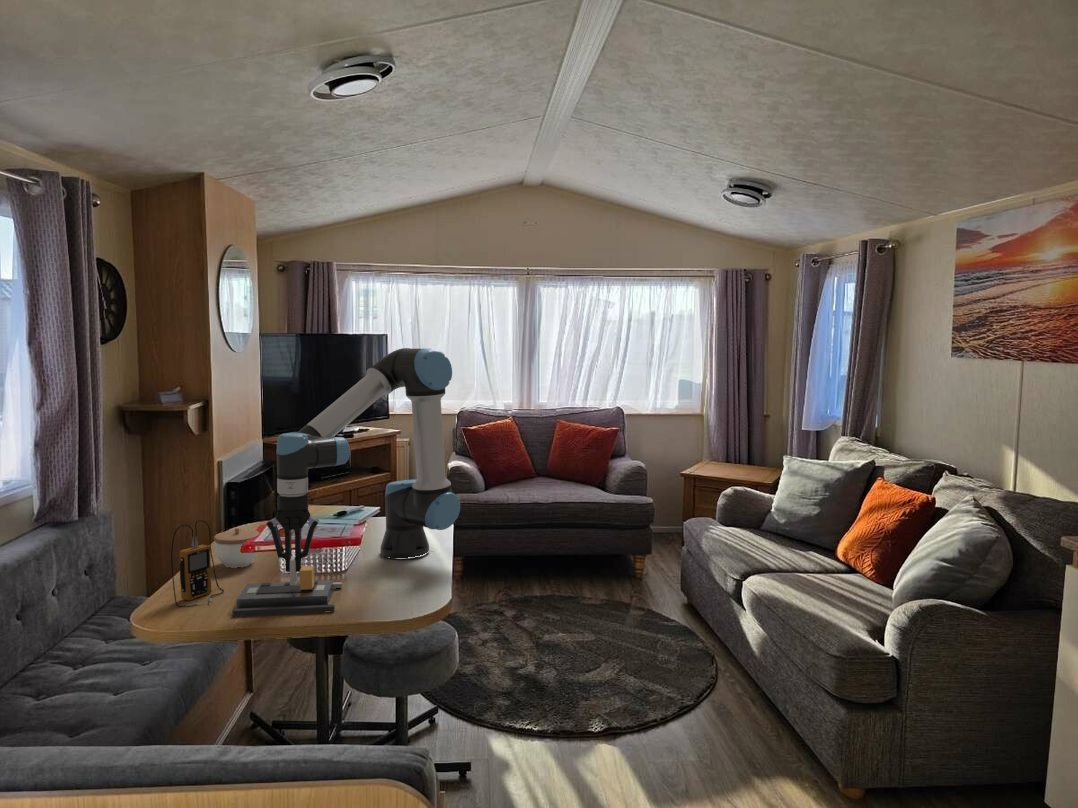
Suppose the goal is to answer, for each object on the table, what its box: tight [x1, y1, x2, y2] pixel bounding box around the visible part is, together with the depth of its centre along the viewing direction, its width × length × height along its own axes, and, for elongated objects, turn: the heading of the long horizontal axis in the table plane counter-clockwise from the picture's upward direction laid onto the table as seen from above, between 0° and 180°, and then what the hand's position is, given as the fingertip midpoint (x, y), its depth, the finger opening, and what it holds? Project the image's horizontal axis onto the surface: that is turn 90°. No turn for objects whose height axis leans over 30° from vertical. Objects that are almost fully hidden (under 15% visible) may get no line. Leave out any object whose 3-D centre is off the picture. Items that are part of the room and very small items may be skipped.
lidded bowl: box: [213, 527, 260, 569], centre depth 229 cm, size 13×13×11 cm
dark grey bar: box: [232, 604, 336, 617], centre depth 190 cm, size 24×1×1 cm, turn 98°
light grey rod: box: [333, 581, 343, 590], centre depth 208 cm, size 24×1×1 cm, turn 98°
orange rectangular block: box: [299, 565, 315, 590], centre depth 199 cm, size 3×4×5 cm
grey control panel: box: [235, 580, 334, 609], centre depth 199 cm, size 22×12×3 cm, turn 98°
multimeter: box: [170, 519, 225, 608], centre depth 199 cm, size 15×10×20 cm
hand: (293, 583), depth 199 cm, fingers closed
